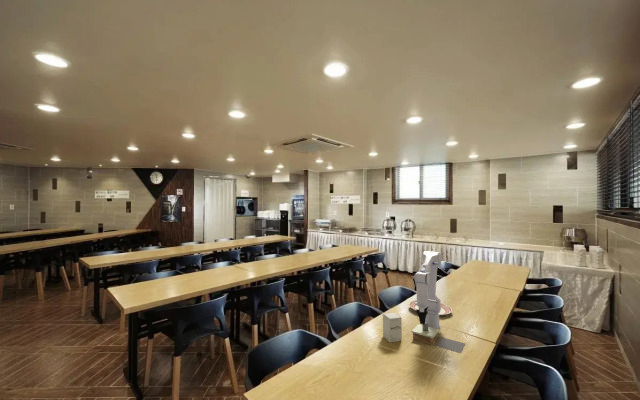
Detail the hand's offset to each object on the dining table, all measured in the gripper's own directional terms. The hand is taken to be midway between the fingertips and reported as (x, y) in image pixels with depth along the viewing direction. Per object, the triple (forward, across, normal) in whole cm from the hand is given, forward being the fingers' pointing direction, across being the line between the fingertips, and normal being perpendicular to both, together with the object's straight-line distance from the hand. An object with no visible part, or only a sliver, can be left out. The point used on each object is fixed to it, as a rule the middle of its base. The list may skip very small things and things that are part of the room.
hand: (422, 321), depth 144 cm
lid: (+6, -2, +1) cm, 7 cm away
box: (+10, -2, +1) cm, 10 cm away
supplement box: (+10, +5, -15) cm, 19 cm away
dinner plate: (+11, -48, +2) cm, 49 cm away
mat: (+10, 0, +13) cm, 16 cm away
